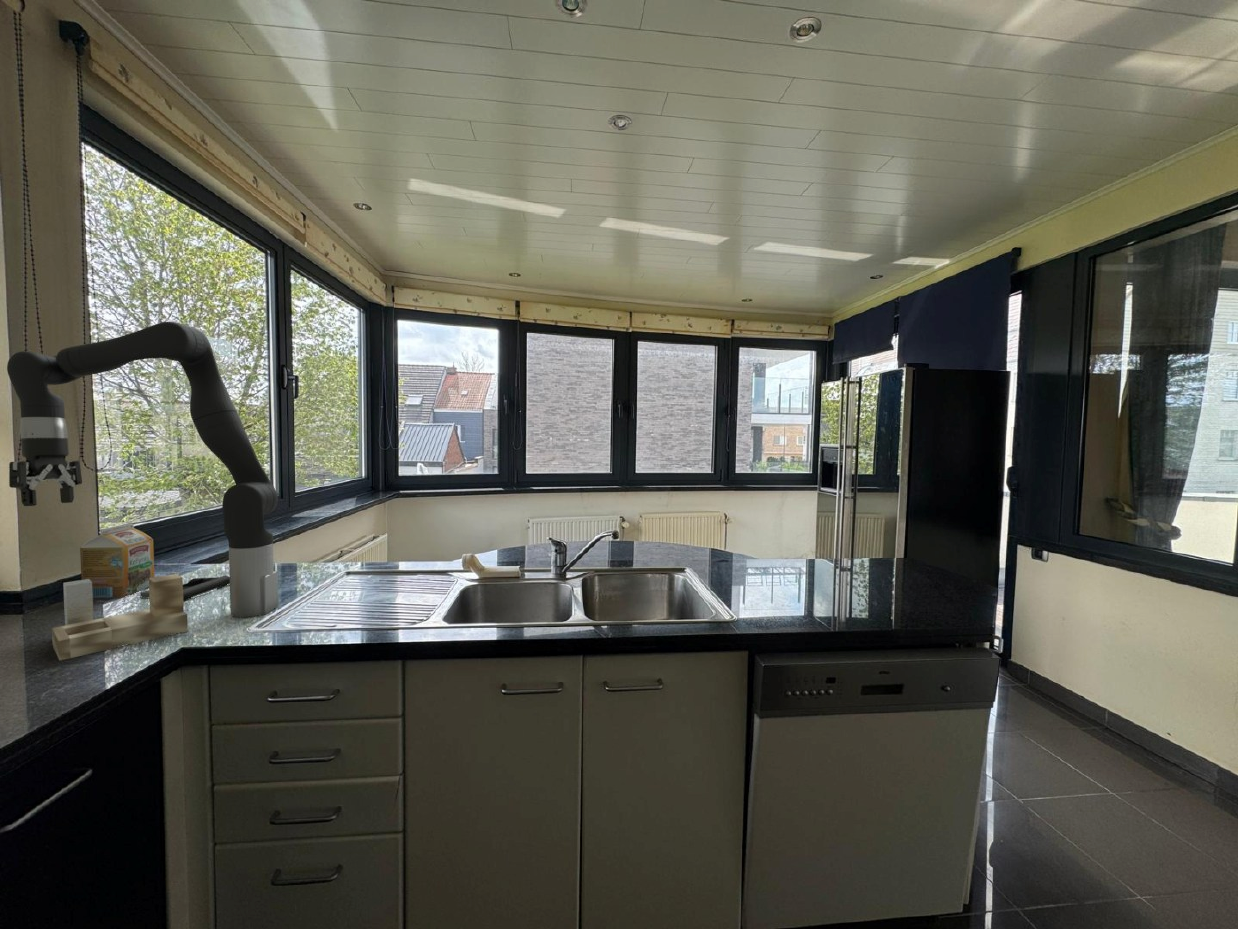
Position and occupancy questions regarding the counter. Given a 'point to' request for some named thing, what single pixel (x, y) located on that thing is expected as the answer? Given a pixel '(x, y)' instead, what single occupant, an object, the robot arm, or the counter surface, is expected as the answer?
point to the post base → (127, 623)
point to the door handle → (199, 586)
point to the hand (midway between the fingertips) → (49, 504)
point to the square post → (78, 601)
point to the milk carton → (118, 561)
